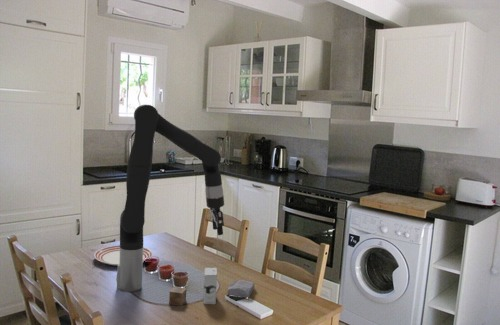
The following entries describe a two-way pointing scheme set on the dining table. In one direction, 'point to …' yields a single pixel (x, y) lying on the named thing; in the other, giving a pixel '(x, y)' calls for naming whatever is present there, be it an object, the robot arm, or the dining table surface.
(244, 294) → the stone block
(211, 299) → the ink box
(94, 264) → the dining table surface
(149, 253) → the dinner plate
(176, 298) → the walnut block
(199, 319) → the dining table surface
